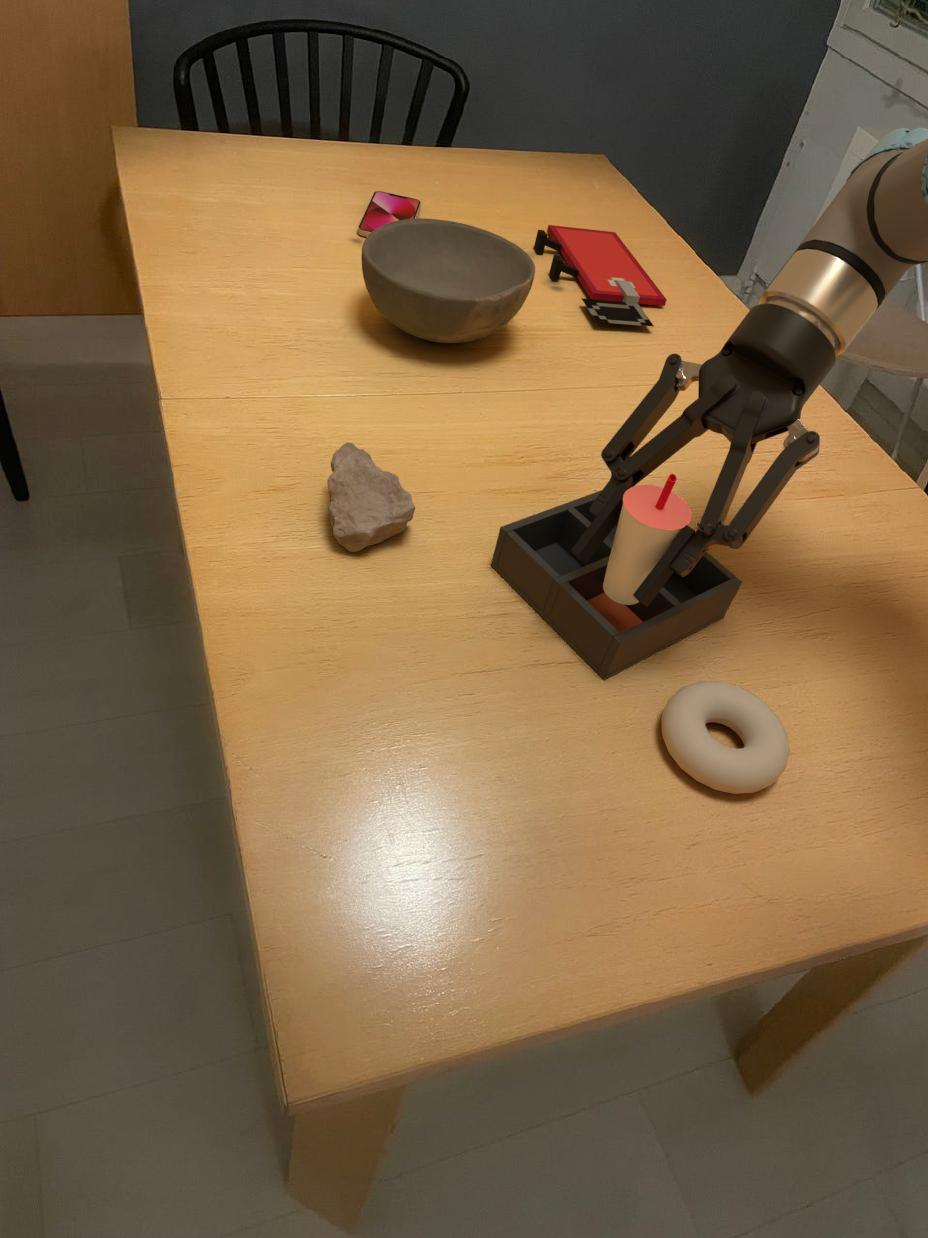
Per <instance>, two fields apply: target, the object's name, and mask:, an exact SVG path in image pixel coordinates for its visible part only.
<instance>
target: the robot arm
mask: <svg viewBox="0 0 928 1238" xmlns="http://www.w3.org/2000/svg"><path fill="white" fill-rule="evenodd" d="M927 263H928V128H925V127H916V128H915V129H912V130H911V129H909V128H906V127H901V128H897V129H895V130H892V131H890V132H888V133H887V134H886V135H884V136H883V137H882V138H880V140H879V141H878V142H877V143H876V145H874V147H873V148H872V149H871V150H870V152H869V153H868V154H867V155H866V156H865V158H864V159H861V160H859V162H858V163H857V164H855V166H854V168H853V169H852V170H851V172H850V175H849V176H848V177H847V179H846V180H845V183H844V185H843V186H842V187H841V188H840V190H839V191H838V192H837V194H836V195H835V197H834V198H833V199H832V201H831V202H829V205H828V206H827V208H826V209H825V210H824V211H823V213H822V214H821V216H820V217H819V218H818V219H817V221H816V222H815V224H814V225H813V226H812V228H811V229H810V230H809V232H808V233H807V234H806V236H805V237H804V239H803V240H802V241H801V243H800V244H799V245H798V246H797V248H796V249H795V251H794V252H793V253H792V255H791V256H790V257H789V258H788V260H787V261H786V262H785V263H784V265H783V266H782V267H781V269H780V270H779V271H778V273H777V274H776V275H775V276H774V278H773V279H772V281H771V282H770V283H769V284H768V285H767V287H766V288H765V289H764V291H763V292H762V293H761V295H760V296H759V301H758V302H759V304H757V305H754V306H752V307H751V308H750V309H749V311H748V312H747V314H745V317H743V319H742V320H741V322H740V323H739V324H738V326H737V327H736V328H735V329H734V331H733V332H732V333H731V335H730V336H729V337H728V338H727V340H726V341H725V343H724V345H723V346H722V348H721V349H720V351H719V352H718V353H717V354H715V355H714V356H713V357H710V358H708V359H706V360H705V361H704V362H703V363H696V362H691V361H685V360H682V356H681V355H680V354H678V353H671V354H669V355H668V356H667V357H666V359H665V361H664V365H663V367H662V370H661V373H660V375H659V378H658V380H657V381H656V382H655V384H654V385H653V386H652V387H651V388H650V390H649V391H648V393H646V395H645V396H644V397H643V399H641V401H640V403H639V404H638V405H637V406H636V408H635V409H634V410H633V411H632V412H631V414H630V415H629V416H628V418H627V419H626V420H625V421H624V422H623V424H622V425H621V426H620V428H619V429H618V430H617V431H616V432H615V434H614V435H613V436H612V438H611V439H610V440H609V441H608V443H606V445H605V446H604V447H603V449H602V451H601V454H600V456H601V459H602V461H603V462H604V464H605V465H606V467H607V469H608V470H609V471H610V478H609V481H608V482H607V483H606V484H605V486H604V487H603V489H601V490H602V491H601V490H600V491H601V492H600V494H599V495H598V496H597V498H596V499H595V500H594V502H593V503H592V504H591V507H590V511H589V512H590V513H591V514H592V515H593V516H594V517H595V519H594V520H593V521H592V523H591V524H590V525H589V527H588V528H587V529H586V531H585V532H584V533H583V535H582V536H581V537H580V539H579V540H578V541H577V543H576V544H575V545H574V547H573V548H572V549H571V552H572V553H573V554H574V555H575V556H577V557H578V558H579V559H580V560H581V561H583V562H584V563H585V564H586V563H587V562H588V561H589V560H590V558H591V557H592V556H593V554H594V553H595V552H596V550H597V549H598V548H599V546H600V545H601V544H602V542H603V541H604V540H605V538H606V537H607V536H608V534H609V533H610V532H611V530H612V529H613V528H614V526H615V525H616V524H617V522H618V521H619V518H620V514H621V510H622V506H623V495H624V493H625V492H626V491H627V490H628V489H630V488H631V487H633V486H637V485H638V484H639V483H640V482H641V481H642V480H644V479H645V478H646V477H648V475H651V473H653V472H654V471H656V469H658V468H659V467H660V466H661V465H663V464H664V463H665V462H666V461H668V460H669V459H670V458H672V457H673V456H674V455H675V454H676V453H677V452H679V451H680V450H681V449H682V448H684V447H685V446H687V445H688V444H689V443H690V442H691V441H692V440H694V439H695V438H699V437H701V436H702V435H704V434H705V433H707V431H711V432H712V433H717V434H720V435H723V437H725V438H726V439H727V440H728V442H730V446H729V450H728V452H727V454H726V457H725V459H724V462H723V464H722V467H721V469H720V471H719V474H718V476H717V479H716V482H715V484H714V486H713V488H712V492H711V494H710V496H709V499H708V501H707V504H706V506H705V509H704V511H703V514H702V517H701V518H700V521H699V522H697V524H696V527H697V529H696V530H695V529H693V528H692V527H690V526H689V525H686V526H685V527H684V529H683V530H682V531H681V532H680V534H679V535H678V536H677V538H676V539H675V540H674V542H673V543H672V544H671V546H670V547H669V548H668V550H667V551H666V552H665V553H664V555H663V556H662V557H661V559H660V560H659V561H658V563H657V564H656V565H655V567H654V568H653V569H652V570H651V572H650V573H649V574H648V576H647V577H646V578H645V580H644V581H643V582H642V584H641V585H640V586H639V588H638V589H637V590H636V591H635V593H634V594H633V596H634V597H635V598H636V599H637V600H638V601H639V602H640V603H641V604H643V605H644V606H646V607H648V605H649V604H650V603H651V601H652V600H653V599H654V597H655V596H656V595H657V594H658V592H659V591H660V590H661V588H662V587H663V586H664V584H665V583H666V582H667V580H668V579H669V578H670V577H671V575H672V574H673V573H674V572H676V573H677V574H678V575H680V576H681V577H684V576H686V575H688V574H689V573H690V572H691V570H692V569H693V568H694V567H695V565H696V564H697V563H698V561H699V560H700V559H701V557H702V556H703V555H704V553H705V552H708V550H709V549H710V548H711V547H713V546H717V545H719V546H723V547H728V548H729V549H730V550H731V549H732V550H739V549H740V548H742V547H743V545H744V544H745V543H746V541H747V540H748V538H749V537H750V536H751V534H752V533H753V532H754V530H755V529H756V527H757V526H758V525H759V523H760V522H761V520H762V519H763V517H764V516H765V514H766V513H767V512H768V510H769V509H770V507H772V504H774V502H775V500H776V499H777V498H778V496H780V494H781V492H782V491H783V490H784V488H786V485H787V484H788V483H789V481H790V480H791V479H792V477H793V476H794V475H795V473H796V472H797V471H798V470H799V469H801V468H802V467H803V466H804V465H806V464H808V463H809V462H810V461H812V460H813V459H815V458H816V457H817V456H818V455H819V453H820V446H821V444H820V443H821V442H820V441H821V439H820V435H819V433H818V432H817V431H814V430H809V428H808V427H807V426H805V424H804V423H803V422H802V420H801V416H802V410H803V408H804V406H805V404H806V403H807V401H808V400H809V399H810V398H811V396H812V395H813V394H814V392H815V391H816V390H817V389H818V387H819V386H820V385H821V384H822V382H823V381H824V380H825V378H826V377H827V375H828V374H829V373H830V371H831V370H832V369H833V368H834V366H835V365H836V362H837V358H836V357H837V356H840V355H842V354H844V352H845V351H847V349H848V348H849V347H850V345H852V343H853V341H854V340H855V339H856V337H857V336H858V335H859V334H860V332H861V331H862V330H863V328H864V327H865V326H866V324H867V323H868V322H869V320H870V319H871V318H872V316H874V314H875V312H876V311H877V310H878V309H879V308H880V306H881V305H882V304H883V302H884V300H885V299H886V298H887V297H888V295H889V294H890V293H891V292H892V290H893V289H894V288H895V286H897V284H898V283H899V281H900V280H901V279H902V277H903V276H904V275H905V274H906V272H908V271H909V270H910V269H911V268H913V267H914V266H917V265H921V264H927ZM695 382H698V392H697V393H698V395H697V397H698V398H697V399H695V400H694V401H693V402H692V403H690V404H689V405H687V407H686V408H684V410H683V411H682V413H681V415H679V416H678V417H677V418H676V419H674V420H673V421H672V422H671V423H670V424H669V425H667V426H666V427H665V428H664V429H662V430H661V431H659V432H658V433H657V434H656V435H654V437H652V438H651V439H649V441H647V442H646V443H645V444H643V446H641V447H640V448H639V449H638V447H639V446H640V445H641V443H642V442H643V441H644V440H645V438H646V437H647V436H648V435H649V434H650V432H651V431H652V430H653V428H654V427H655V426H656V425H657V423H659V421H660V420H661V419H662V417H663V416H664V415H665V414H666V413H667V411H668V410H669V409H670V407H672V405H673V403H674V402H675V400H676V399H677V397H678V395H679V393H680V392H684V391H686V390H688V389H689V387H690V386H691V384H693V383H695ZM784 433H787V436H786V437H785V438H784V439H783V440H784V441H783V443H782V446H783V450H782V451H780V453H779V454H778V455H777V457H776V458H775V460H773V463H772V464H771V465H770V467H769V468H768V469H767V470H766V472H765V473H764V474H763V476H762V477H761V479H760V480H759V482H758V483H757V484H756V486H755V487H754V489H753V490H752V492H750V494H749V496H748V497H747V498H746V500H745V501H744V503H743V504H742V505H741V507H740V508H739V510H738V511H737V512H736V514H735V515H734V516H733V518H732V519H731V521H730V522H729V523H728V525H727V524H725V521H726V518H727V516H728V514H729V511H730V509H731V507H732V504H733V501H734V499H735V496H736V494H737V492H738V489H739V487H740V484H741V482H742V479H743V477H744V474H745V472H746V469H747V467H748V465H749V463H750V462H751V460H752V457H753V455H754V453H755V450H756V448H757V445H758V443H760V442H762V441H765V440H768V439H770V438H773V437H776V436H778V435H782V434H784Z"/></svg>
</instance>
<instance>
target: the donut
mask: <svg viewBox="0 0 928 1238" xmlns="http://www.w3.org/2000/svg"><path fill="white" fill-rule="evenodd" d="M660 718H661V720H660V721H661V736H662V739H663V742H664V744H665V747H666V749H667V751H668V754H669V755H670V756H671V758H672V759H673V760H674V761H675V763H676V764H677V765H678V767H679V768H680V769H681V770H682V771H684V772H685V773H686V774H687V775H689V776H690V777H691V778H692V779H693V780H695V782H696V781H697V782H699V783H700V784H702V785H705V786H707V787H708V788H711V789H713V790H715V791H720V792H725V793H728V794H733V795H735V794H736V795H737V794H739V795H740V794H751V793H757V792H759V791H761V790H763V789H766V788H768V787H770V786H772V785H773V784H774V783H775V782H777V780H778V779H779V778H780V777H781V775H782V774H784V772H785V770H786V768H787V764H788V761H789V757H790V753H791V751H790V743H789V738H788V737H789V736H788V732H787V730H786V728H785V726H784V724H783V722H782V720H781V719H780V717H779V716H778V714H777V713H776V712H775V711H774V710H773V709H772V708H771V707H770V705H768V703H767V702H766V701H764V700H763V699H762V698H760V697H759V696H757V695H756V694H755V693H754V692H752V691H750V690H749V689H746V688H744V687H742V686H739V685H737V684H733V683H729V682H724V681H720V680H699V681H696V682H693V683H690V684H687V685H685V686H682V687H681V688H680V689H678V690H677V691H676V692H675V693H673V695H671V696H670V697H669V699H668V700H667V702H666V704H665V707H664V709H663V711H662V714H661V717H660ZM708 723H716V724H721V725H724V726H725V727H728V728H729V729H730V730H732V731H733V732H735V733H736V734H737V736H739V738H740V739H741V741H742V744H743V747H741V748H740V747H739V748H734V747H730V746H727V745H725V744H723V743H721V742H719V741H718V740H717V739H715V738H714V737H713V736H712V734H710V732H709V731H708V729H707V726H706V724H708Z"/></svg>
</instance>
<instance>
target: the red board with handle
mask: <svg viewBox="0 0 928 1238" xmlns="http://www.w3.org/2000/svg"><path fill="white" fill-rule="evenodd" d="M548 235H549V236H550V237H548ZM545 247H547V248H549V249H552V250H554V251H557V252H559V253H560V254H554V255H553V257H552V260H551V264H550V268H549V272H548V276H549V277H550V278H551V280H552V281H557V282H558V281H560V277H561V274H562V273H564V274H566V275H569V276H572V277H574V278H575V279H576V278H577V280H578V282H579V283H580V285H581V286H582V288H583V289H584V291H585V292H586V294H587V296H588V297H589V298H583V297H582V298H581V300H582V302H583V303H584V305H585V307H586V309H587V310H588V312H589V313H590V315H591V316H592V318H593V320H594V321H595V322H596V323H603V324H615V325H616V324H617V325H619V324H620V325H630V326H640V327H641V326H642V327H655V325H654V324H653V322H652V321H651V320H650V318H649V317H648V315H647V314H646V313H645V312H644V310H643V308H642V307H641V305H650V306H659V307H665V306H666V304H667V300H668V299H667V297H666V296H665V295H664V294H663V292H662V291H661V290H660V288H659V287H658V286H657V285H656V284H655V282H654V281H653V280H652V278H651V276H649V274H648V273H647V272H646V271H645V269H644V268H643V266H642V265H641V264H640V263H639V261H638V260H637V258H636V257H635V256H634V255H633V253H632V252H631V251H630V249H629V248H628V247H627V246H626V244H625V243H624V242H623V240H622V239H621V238H620V236H619V235H618V234H617V233H616V232H615V231H607V230H599V229H589V228H580V227H572V226H571V227H570V226H564V225H563V226H562V225H555V224H554V225H553V224H548V226H547V228H546V231H545V230H544V229H537V233H536V236H535V241H534V245H533V250H534V252H535V253H536V255H541V256H542V255H544V253H545ZM561 255H562V256H561ZM563 258H564V259H563ZM564 260H565V261H566V262H564Z"/></svg>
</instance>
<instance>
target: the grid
mask: <svg viewBox="0 0 928 1238" xmlns="http://www.w3.org/2000/svg"><path fill="white" fill-rule="evenodd" d="M602 490H603V489H601V490H598V491H595V492H593V493H589V494H587V495H584V496H582V497H579V498H576V499H573V500H571V501H568V502H565V503H562V504H560V505H556V506H554V507H551V508H548V509H546V510H543V511H541V512H540V511H539V512H538V513H535V514H532V515H530V516H527V517H524V518H522V519H519V520H518V519H517V520H515V521H513V522H511V523H508V524H505V525H502V526H500V527H499V531H498V532H499V533H498V535H497V539H496V543H495V547H494V551H493V555H492V557H491V558H492V559H491V563H490V567H491V568H492V569H494V571H496V573H498V574H499V576H500V577H502V578H503V580H504V581H505V582H506V583H507V584H508V585H509V586H511V588H512V589H513V590H514V591H515V592H516V593H517V594H518V595H519V596H520V597H521V598H522V599H523V600H524V601H525V602H526V603H527V604H528V605H529V606H530V607H531V608H532V609H533V610H534V611H535V612H536V613H537V614H538V615H539V616H540V617H541V618H542V619H543V620H544V621H545V623H547V624H548V625H549V626H550V627H551V629H553V630H554V631H555V632H556V633H557V634H558V635H559V636H560V638H562V640H563V641H565V642H566V644H568V645H569V646H570V648H571V649H573V651H574V652H575V653H576V654H578V656H579V657H581V659H582V660H583V661H584V662H585V663H586V664H587V665H588V666H589V667H590V668H591V669H592V670H593V671H594V672H595V673H596V674H597V676H599V677H600V678H601V679H602V680H603V681H605V680H607V679H609V678H611V677H613V676H615V675H616V674H619V673H620V672H623V671H624V670H626V669H628V668H630V667H632V666H634V665H636V664H638V663H640V662H641V661H643V660H645V659H647V658H649V657H651V656H653V655H655V654H657V653H659V652H660V651H662V650H664V649H666V648H668V647H670V646H672V645H674V644H676V643H678V642H679V641H682V640H683V639H685V638H687V637H689V636H691V635H693V634H695V633H697V632H699V631H701V630H702V629H705V628H707V627H709V626H710V625H712V624H715V623H717V622H718V621H720V620H721V619H724V617H725V615H726V614H727V613H728V610H729V608H730V606H731V605H732V603H733V601H734V599H735V597H736V595H737V594H738V591H739V589H740V588H741V586H742V584H743V581H742V580H741V579H740V578H739V577H738V576H736V574H734V573H733V572H732V571H731V570H729V568H727V567H726V566H724V564H722V563H721V562H720V561H719V560H718V559H716V558H715V557H714V556H713V555H712V554H710V553H709V552H708V551H706V552H705V553H704V555H703V556H702V557H701V559H700V560H699V561H698V563H697V564H696V565H695V567H694V568H693V569H692V570H691V572H690V573H689V574H688V575H686V576H684V577H681V576H680V575H678V574H677V573H676V572H674V573H673V574H672V575H671V577H670V578H669V579H668V580H667V582H666V583H665V584H664V586H663V587H662V588H661V590H660V591H659V592H658V594H657V595H656V596H655V597H654V599H653V600H652V601H651V603H650V604H649V605H648V607H646V606H644V605H643V604H641V603H640V602H638V603H636V604H633V605H625V604H620V603H618V602H615V601H613V600H612V599H610V598H609V597H608V596H607V595H606V593H605V592H604V589H603V583H604V578H605V574H606V570H607V565H608V561H609V557H610V553H611V549H612V545H613V541H614V537H615V533H616V529H617V525H618V522H617V524H616V525H615V526H614V528H613V529H612V530H611V532H610V533H609V534H608V536H607V537H606V538H605V540H604V541H603V542H602V544H601V545H600V546H599V548H598V549H597V550H596V552H595V553H594V554H593V556H592V557H591V558H590V560H589V561H588V562H587V563H586V564H585V563H584V562H583V561H581V560H580V559H579V558H578V557H577V556H575V555H574V554H573V553H572V552H571V549H572V548H573V547H574V545H575V544H576V543H577V541H578V540H579V539H580V537H581V536H582V535H583V533H584V532H585V531H586V529H587V528H588V527H589V525H590V524H591V523H592V521H593V520H594V519H595V517H594V516H593V515H592V514H591V513H590V512H589V511H590V507H591V504H592V503H593V502H594V500H595V499H596V498H597V496H598V495H599V494H600V492H601V491H602Z"/></svg>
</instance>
